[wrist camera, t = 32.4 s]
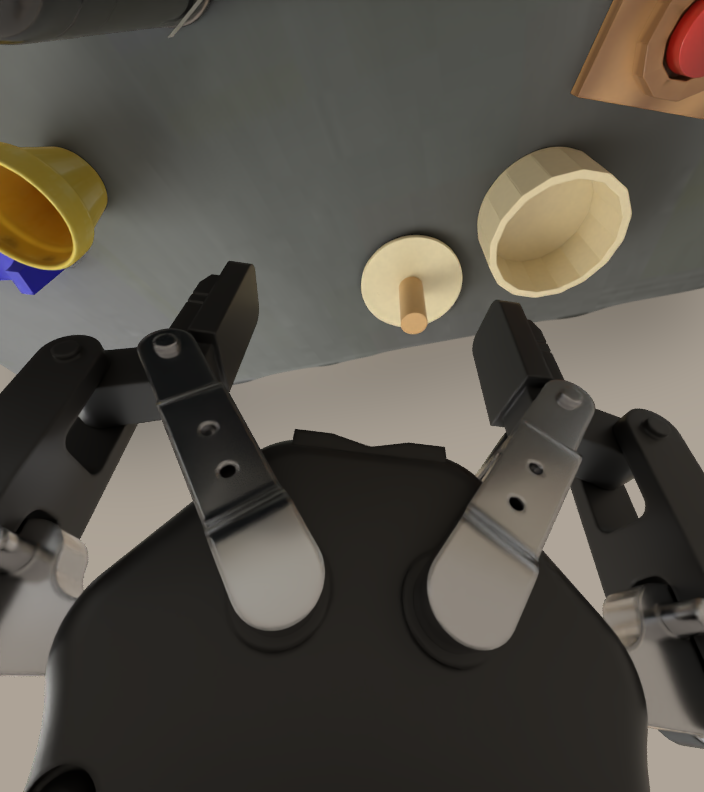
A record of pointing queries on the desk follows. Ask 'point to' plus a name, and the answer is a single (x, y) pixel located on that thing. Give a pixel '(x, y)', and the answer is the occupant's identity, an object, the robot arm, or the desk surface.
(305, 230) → the desk surface
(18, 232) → the flower pot
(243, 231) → the desk surface
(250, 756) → the robot arm
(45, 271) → the blue cradle stand
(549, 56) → the desk surface
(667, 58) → the button
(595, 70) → the button block
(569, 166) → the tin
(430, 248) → the lid
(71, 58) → the desk surface
